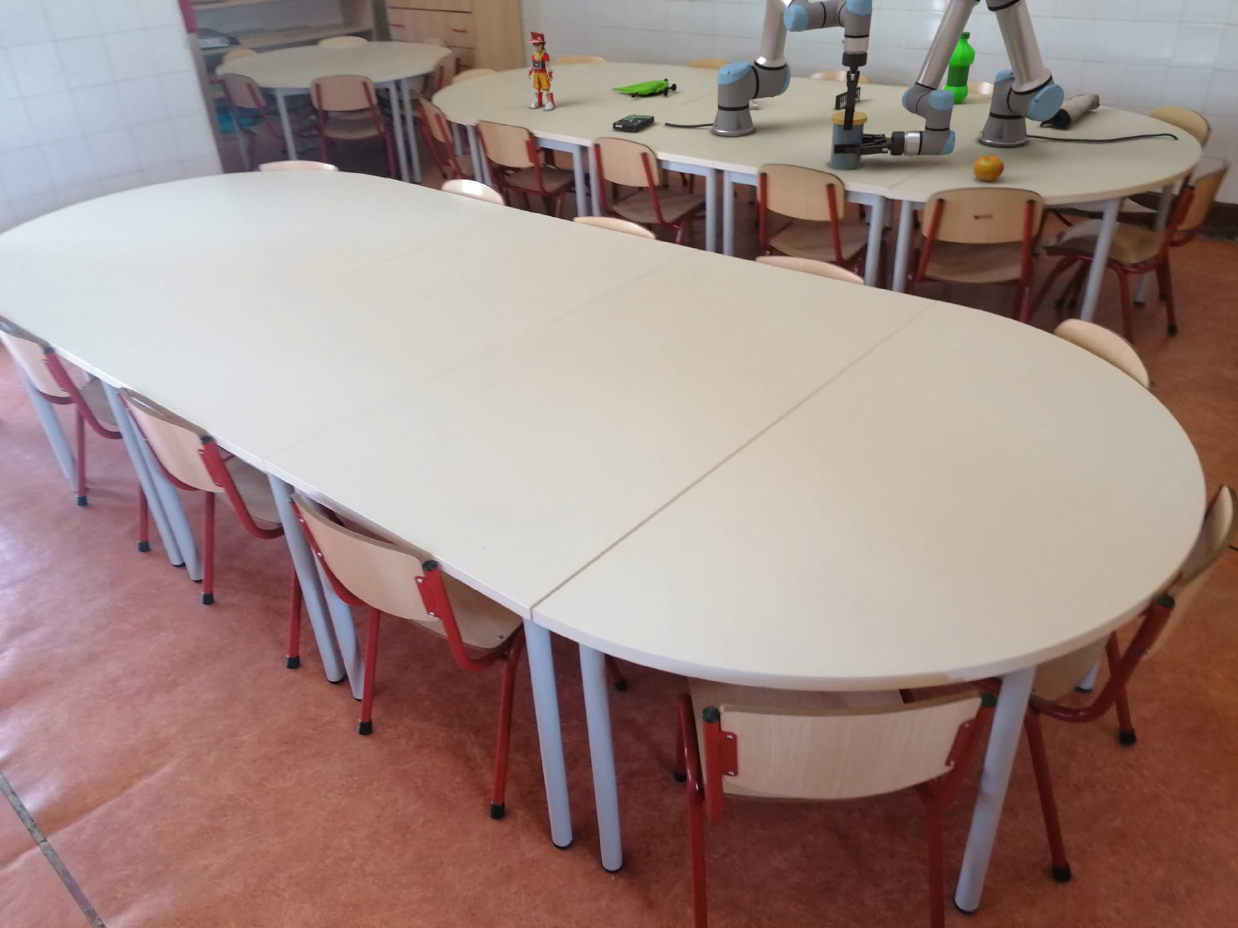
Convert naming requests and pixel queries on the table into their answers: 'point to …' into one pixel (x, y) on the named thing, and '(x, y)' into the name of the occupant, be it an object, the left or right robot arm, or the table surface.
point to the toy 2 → (648, 88)
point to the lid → (857, 118)
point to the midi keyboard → (842, 98)
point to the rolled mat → (1073, 110)
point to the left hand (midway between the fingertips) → (848, 125)
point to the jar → (846, 138)
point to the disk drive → (633, 123)
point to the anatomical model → (752, 104)
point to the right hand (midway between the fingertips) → (833, 144)
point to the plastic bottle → (960, 68)
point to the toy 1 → (541, 71)
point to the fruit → (988, 168)
